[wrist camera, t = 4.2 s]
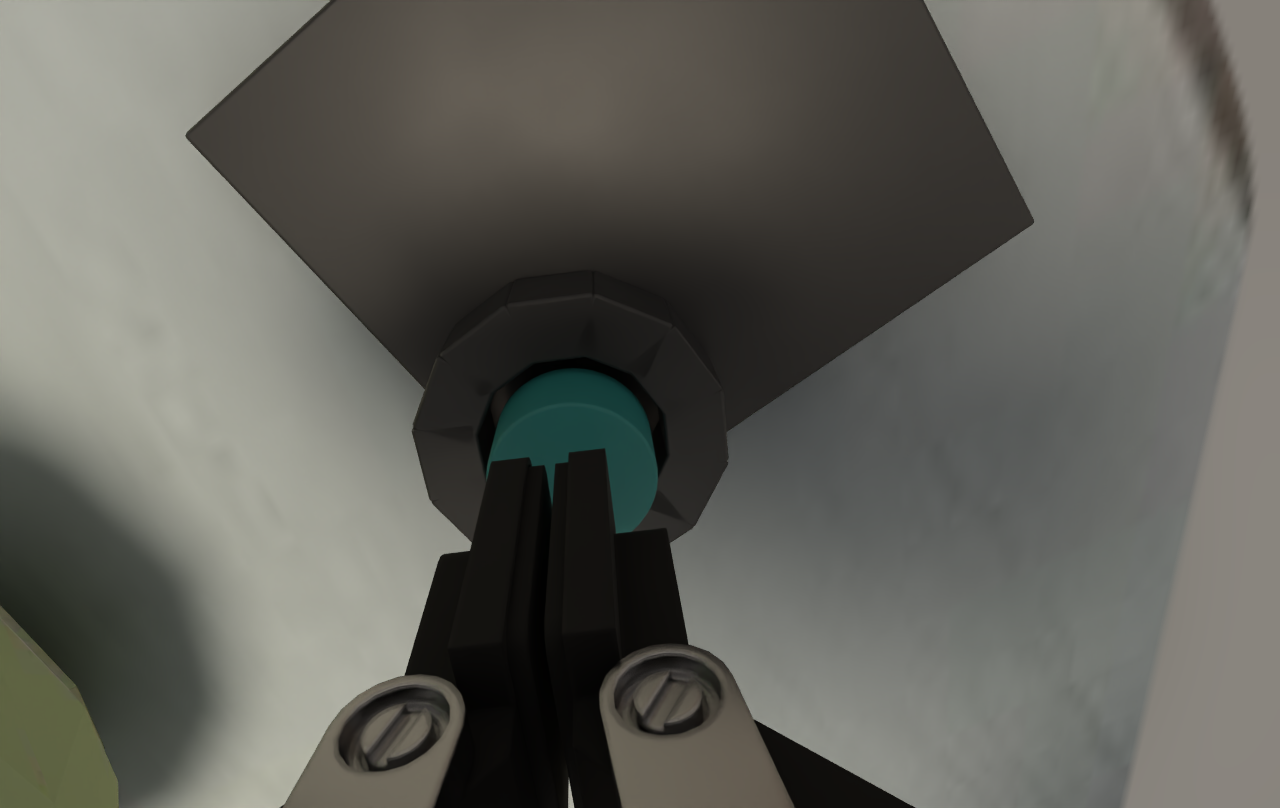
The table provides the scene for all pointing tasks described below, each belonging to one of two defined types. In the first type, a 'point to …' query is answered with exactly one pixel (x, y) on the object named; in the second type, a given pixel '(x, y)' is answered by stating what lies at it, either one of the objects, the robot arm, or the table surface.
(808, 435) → the table surface
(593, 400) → the tare button
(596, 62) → the dark grey flat block
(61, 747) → the decorative sphere
